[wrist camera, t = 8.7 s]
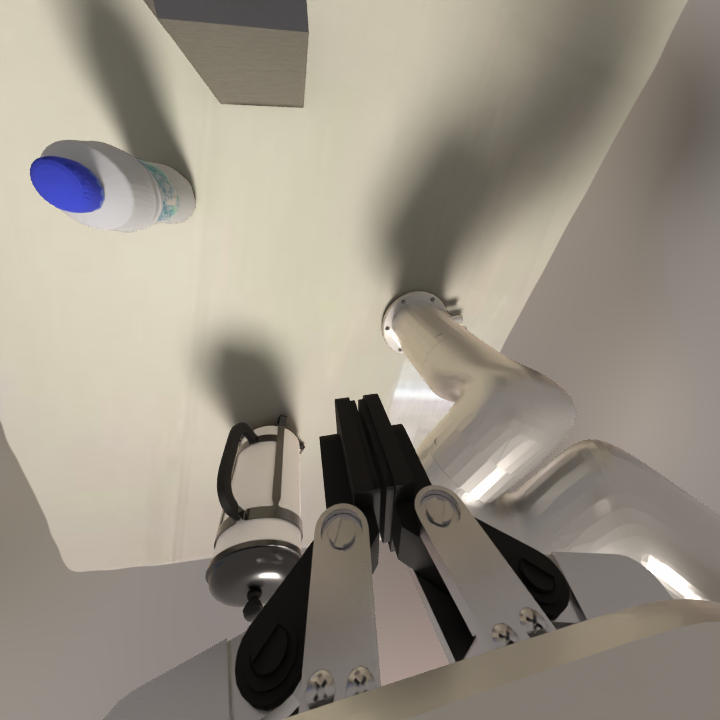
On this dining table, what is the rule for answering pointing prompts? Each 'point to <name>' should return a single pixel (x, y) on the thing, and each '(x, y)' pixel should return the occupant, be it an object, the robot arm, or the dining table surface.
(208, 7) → the grey peg holder block
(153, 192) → the bottle
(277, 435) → the coffee press
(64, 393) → the dining table surface
